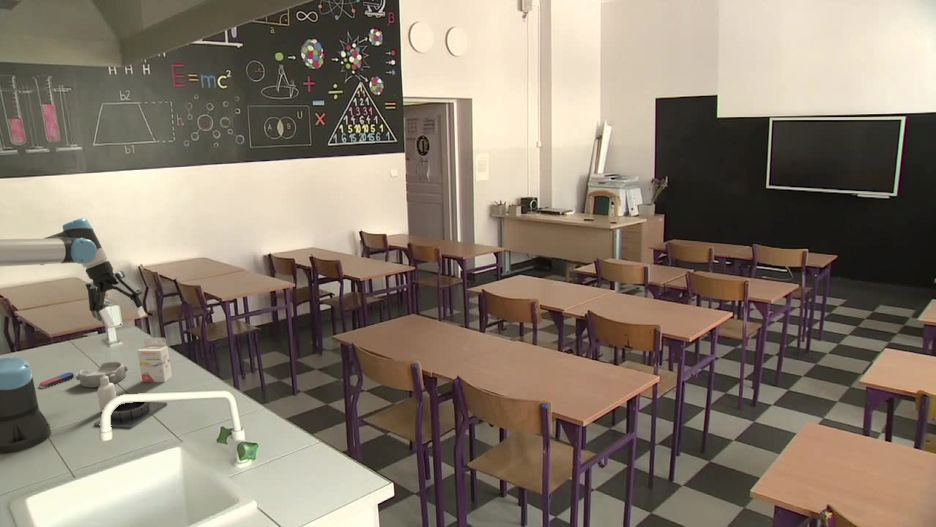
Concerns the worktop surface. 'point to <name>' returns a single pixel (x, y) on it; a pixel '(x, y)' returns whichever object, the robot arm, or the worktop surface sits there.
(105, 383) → the eye dropper bottle
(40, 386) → the eraser
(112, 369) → the dish
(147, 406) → the black ribbed ring plate
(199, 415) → the worktop surface
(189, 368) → the worktop surface
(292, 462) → the worktop surface
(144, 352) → the ink cartridge box
